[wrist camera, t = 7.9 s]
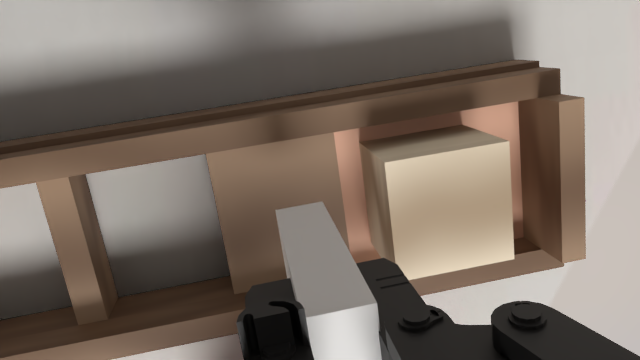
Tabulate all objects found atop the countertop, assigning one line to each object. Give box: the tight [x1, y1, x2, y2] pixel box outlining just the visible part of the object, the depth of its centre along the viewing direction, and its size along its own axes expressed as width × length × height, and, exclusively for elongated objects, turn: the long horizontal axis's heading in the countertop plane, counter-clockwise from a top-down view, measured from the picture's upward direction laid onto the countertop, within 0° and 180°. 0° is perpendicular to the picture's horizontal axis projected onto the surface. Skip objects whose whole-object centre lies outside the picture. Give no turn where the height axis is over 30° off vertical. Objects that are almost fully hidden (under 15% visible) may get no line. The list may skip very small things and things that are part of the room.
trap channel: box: [0, 60, 586, 360], centre depth 21 cm, size 9×27×5 cm, turn 99°
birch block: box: [359, 125, 514, 280], centre depth 21 cm, size 4×4×4 cm
